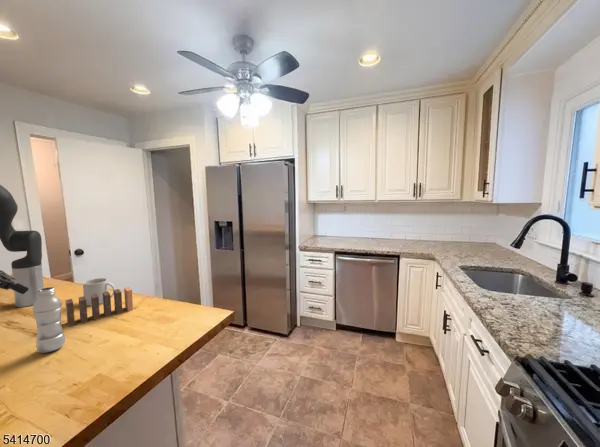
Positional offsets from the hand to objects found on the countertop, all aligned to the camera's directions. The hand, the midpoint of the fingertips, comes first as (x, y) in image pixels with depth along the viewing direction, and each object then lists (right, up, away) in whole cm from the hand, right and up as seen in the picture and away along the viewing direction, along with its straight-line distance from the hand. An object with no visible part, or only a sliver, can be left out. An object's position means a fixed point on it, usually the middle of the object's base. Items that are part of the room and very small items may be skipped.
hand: (26, 291), depth 89 cm
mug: (+2, -13, +30) cm, 32 cm away
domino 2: (+10, -15, +12) cm, 22 cm away
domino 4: (+15, -14, +17) cm, 27 cm away
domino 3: (+13, -15, +15) cm, 24 cm away
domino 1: (+7, -15, +9) cm, 19 cm away
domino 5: (+18, -14, +20) cm, 30 cm away
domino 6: (+20, -14, +23) cm, 34 cm away
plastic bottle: (+16, -17, -7) cm, 25 cm away
